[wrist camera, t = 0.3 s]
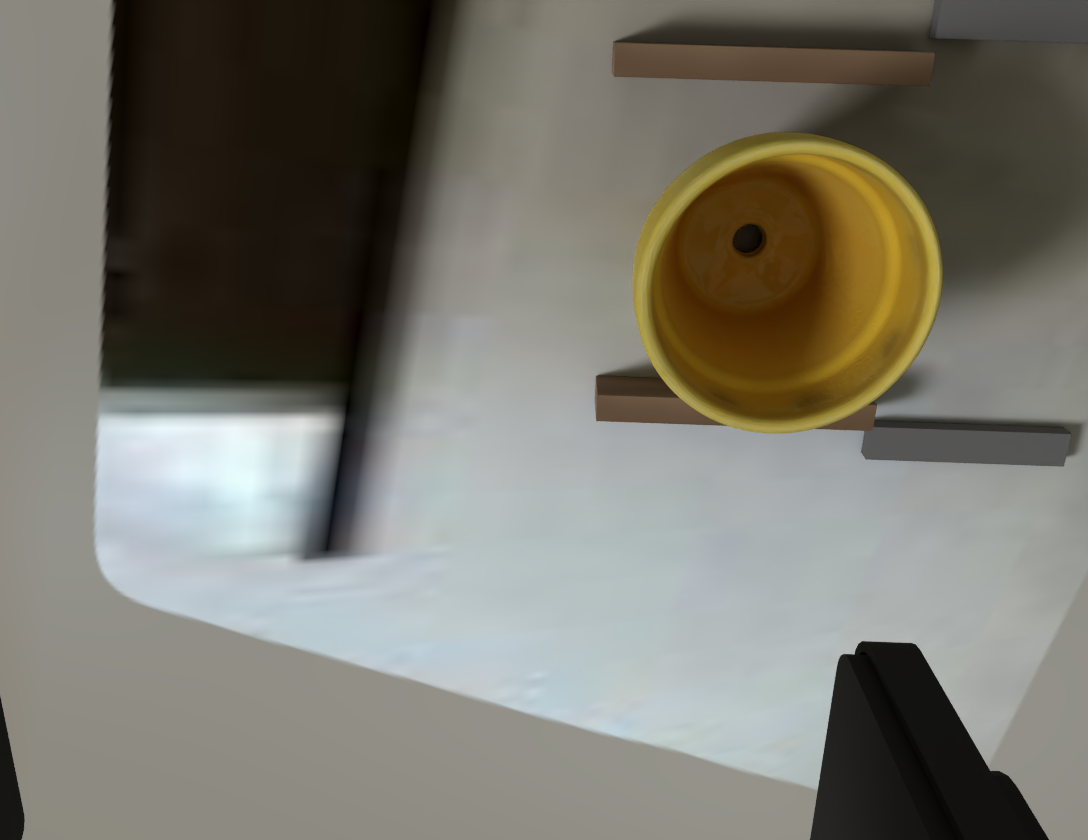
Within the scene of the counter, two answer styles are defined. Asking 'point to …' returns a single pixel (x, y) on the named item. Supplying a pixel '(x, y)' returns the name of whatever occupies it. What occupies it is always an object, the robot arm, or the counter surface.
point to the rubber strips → (981, 14)
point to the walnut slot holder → (743, 63)
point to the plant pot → (786, 282)
